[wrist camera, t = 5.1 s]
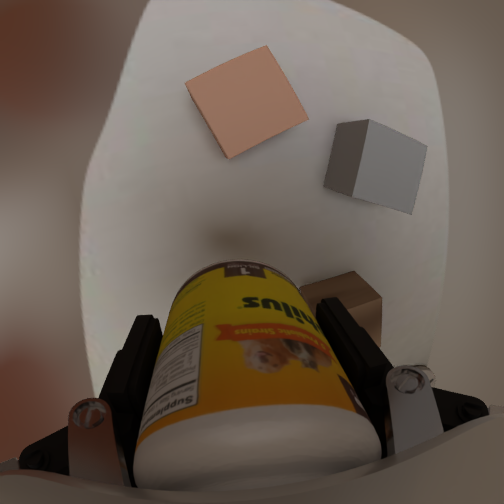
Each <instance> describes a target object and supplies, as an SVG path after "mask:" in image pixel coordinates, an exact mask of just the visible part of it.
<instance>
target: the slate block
mask: <svg viewBox="0 0 504 504" xmlns="http://www.w3.org/2000/svg"><path fill="white" fill-rule="evenodd" d="M426 151H427V146H426V145H424V144H422V143H420V142H419V141H417V140H415V139H412V138H410V137H408V136H406V135H404V134H402V133H400V132H398V131H396V130H393V129H391V128H389V127H387V126H384V125H382V124H380V123H377V122H375V121H373V120H370V119H367V120H360V121H353V122H347V123H341V124H337V128H336V133H335V138H334V142H333V147H332V151H331V156H330V160H329V164H328V168H327V173H326V177H325V181H324V185H323V186H324V187H327V188H330V189H332V190H335V191H338V192H340V193H343V194H346V195H348V196H351V197H354V198H358V199H361V200H365V201H368V202H371V203H375V204H378V205H382V206H385V207H388V208H391V209H395V210H398V211H401V212H404V213H407V214H410V215H412V211H413V207H414V204H415V200H416V196H417V192H418V188H419V184H420V179H421V175H422V171H423V166H424V161H425V156H426Z"/></svg>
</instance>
